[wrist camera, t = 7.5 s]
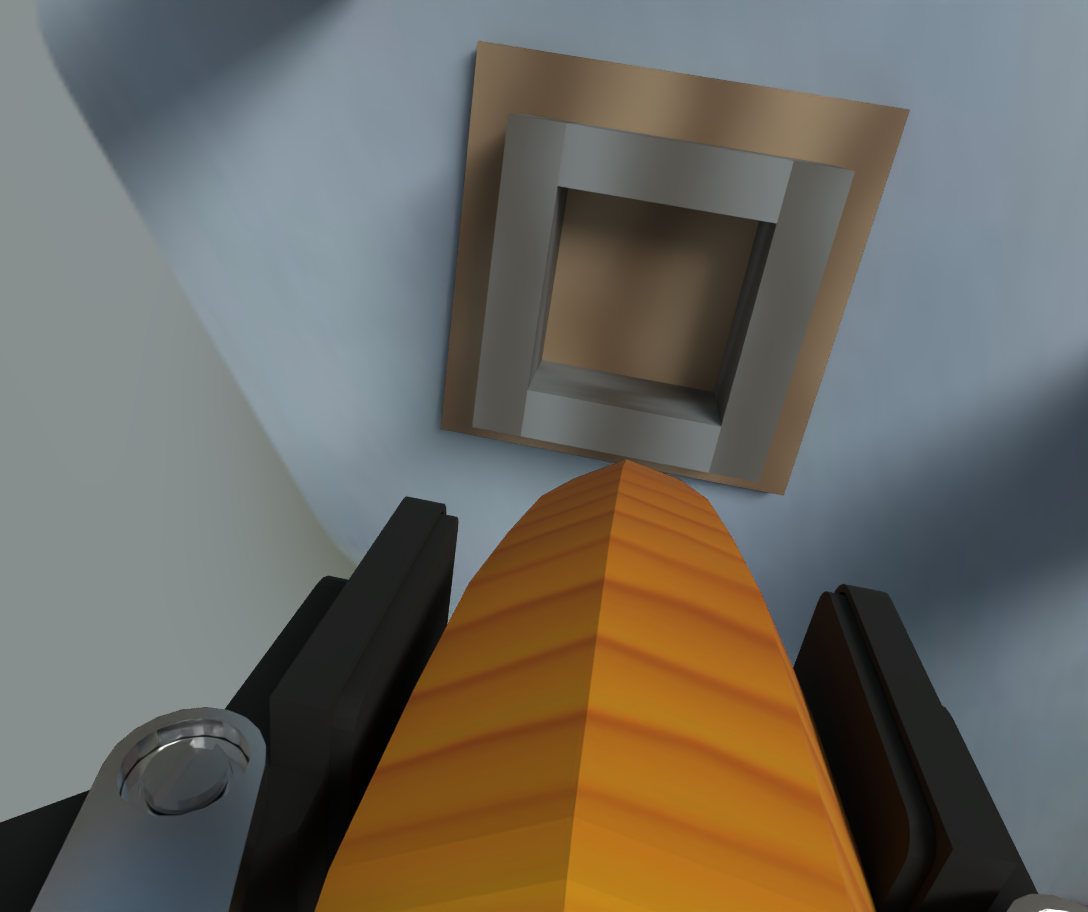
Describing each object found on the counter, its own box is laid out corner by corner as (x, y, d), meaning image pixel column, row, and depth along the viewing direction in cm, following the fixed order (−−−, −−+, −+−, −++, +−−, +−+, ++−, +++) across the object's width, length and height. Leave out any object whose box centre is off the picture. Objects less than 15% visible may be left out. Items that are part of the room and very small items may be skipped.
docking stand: (901, 110, 28) (949, 108, 23) (780, 485, 35) (798, 540, 30) (483, 43, 29) (450, 29, 24) (446, 420, 36) (415, 464, 31)
